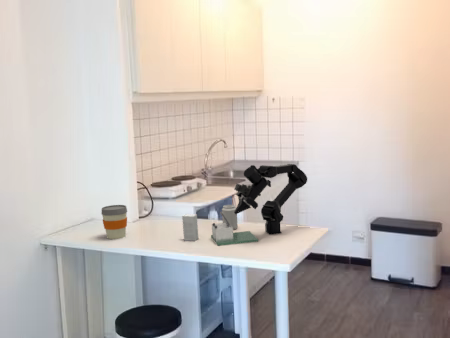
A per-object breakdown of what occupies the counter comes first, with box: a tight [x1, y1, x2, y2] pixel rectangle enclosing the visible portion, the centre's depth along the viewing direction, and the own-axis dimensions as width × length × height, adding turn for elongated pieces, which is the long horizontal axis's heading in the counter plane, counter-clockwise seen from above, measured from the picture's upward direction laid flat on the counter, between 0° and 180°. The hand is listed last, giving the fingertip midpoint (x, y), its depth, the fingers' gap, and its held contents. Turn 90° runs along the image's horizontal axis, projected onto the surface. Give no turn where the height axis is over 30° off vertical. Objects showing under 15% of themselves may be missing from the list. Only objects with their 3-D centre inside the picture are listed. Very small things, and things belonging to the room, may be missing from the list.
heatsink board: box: [211, 222, 259, 246], centre depth 244 cm, size 19×16×8 cm
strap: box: [219, 211, 230, 225], centre depth 242 cm, size 7×4×1 cm
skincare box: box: [181, 213, 199, 242], centre depth 247 cm, size 6×4×12 cm
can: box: [221, 204, 239, 231], centre depth 264 cm, size 8×8×12 cm
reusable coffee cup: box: [101, 204, 128, 240], centre depth 259 cm, size 13×13×15 cm
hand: (234, 213), depth 243 cm, fingers closed
